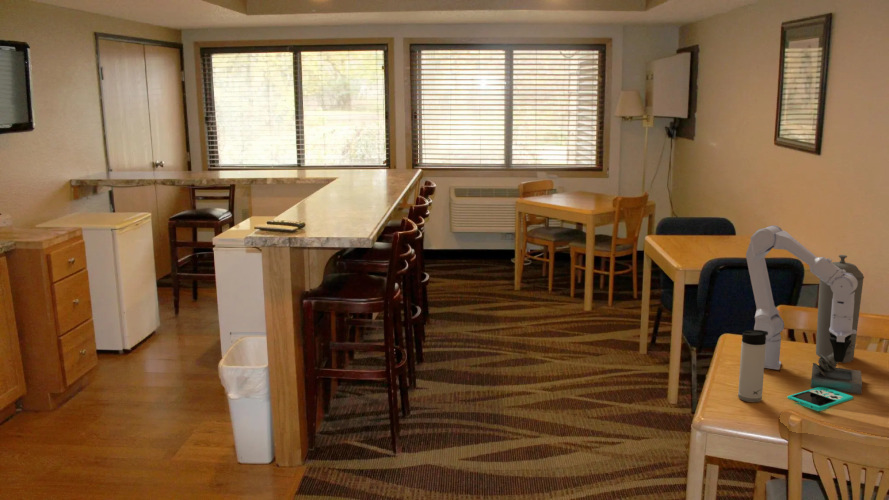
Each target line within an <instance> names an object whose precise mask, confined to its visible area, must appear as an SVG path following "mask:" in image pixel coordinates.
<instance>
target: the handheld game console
mask: <svg viewBox="0 0 889 500" xmlns="http://www.w3.org/2000/svg"><path fill="white" fill-rule="evenodd" d="M787 399H788V400H791V401H793V403H794V404H797V405H799V406H803V407H806V408H808V409H811V410H814V411H817V412H822V411H824V410H827V409H829V408H830V407H832V406H835V405H838V404H841V403H845V402H848V401H851V400H853V399H854V396H853V395H851V394H847V393H846V392H841V391H835V390H832V389H829V388H824V387H816V388H813V387H812V388H810V389H807V390H804V391H801V392H796V393H793V394H790V395H787Z"/></svg>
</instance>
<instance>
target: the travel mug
mask: <svg viewBox="0 0 889 500" xmlns="http://www.w3.org/2000/svg"><path fill="white" fill-rule="evenodd" d="M766 335H768V332H767V331H762V330H754V329H749V330H744V332H742V334H741V346H740V347H741V348H740V362H739V377H738V379H739V380H738V392H737V393H738V394H737V397H738V399H740V400H741V401H744V402H748V403H749V402H750V403H758V402H761V401H763V392H764V391H763V388H764V378H765V377H764V375H765V368H764V362H765V348H766V346H765V345H766Z"/></svg>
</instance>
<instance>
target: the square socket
mask: <svg viewBox="0 0 889 500" xmlns="http://www.w3.org/2000/svg"><path fill="white" fill-rule="evenodd" d="M836 369H837V371H836V370H835V371H833V372H827V371H824V372H825V373H826V377H825V376H824V375H823V374H822V373H821V372H820V371H819V370H818V369H817V368H816V367H815V366H814V365H813V364H812V369H811V377H810V379H811V380H810V388H812V389H813V388H816V387H824V388H829V389H832V390H835V391H839V392H842V393H849V394H855V395H862V389H863V380H862V370H857V369H849V368H848V369H847V368H841V367H836Z"/></svg>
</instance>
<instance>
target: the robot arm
mask: <svg viewBox="0 0 889 500" xmlns="http://www.w3.org/2000/svg"><path fill="white" fill-rule="evenodd" d="M747 247H748V248H747V250H746V252H745V257H746V263H747V268H748V273H749V276H750V277H749V278H750V284H751V286H752V287H751V288H752V292H753V297H754V298H753V299H754V301H755V306H756V307H755V308H756V311H755V315H754V321H755V322H754V327H753V330H762V331H767V332H768V335H766V345H765V346H766V348H765V362H764V369H771V370H777V371H779V370H780V369H781V366H782V361H781V360H780V357H781V343H782V336H781V332H783V330H784V328H785V321H784V320H783V318H782V317H781V316H780V312H779V310H778V308H777V307H776V305H775V301H774V296H773V292H772V287H771V281H770V277H769V272H768V267H767V263H766V256H768V254H769V253H770V252H771V251H772V249H774V250H783V251H784V250H785V251H787V252H788V253H790V254H792V255H793V256H795V257H796V258H798V259H799V260H800V261H802V262H804V263H805V264H807V265H808V266H809V271H810V273H812V274H813V275H814V276H816V277H817V278H818V279H819V280H820V279H821V280H822V281H824V282H825V283H826V284H827V285H830V287H831V290H832V292H833V299H832V309H831V322H830V328H829V331H830V336H831V337H830V339H829V340H830V342H831V344H832V347H833V354H834V361H835V362H838V363H839V362H843V360H844V357H845V353H846V350H847V348H848V346H849V345H850V344H851V340H849V339H850V337H851V334H856V330H852V324H853V312H854V294H855V292H853V291H854V290H855V289H856V288H857V286H858V281H857V279H856V278H855V277H854V276H853V274H851V273H845V272H846V271H845V270H844V269H843V270H841V269H840V268H838V267H837V266H836V265H834V264H833V262H832V261H833V260H832V258H830V257H828V258H826V257H825V256H820V257H819V256H817V255H815V254H814V253H813V252H812V251H810V249H808V248H807V247H805V246H804V245H803V244H802V243H801V242H800V241H798V240H797V239H795V238H794V237H793V236H792V235H791V234H790V233H789V232H788V231H786V230H783V229H782V228H781V227H780V226H778V225H769V226H767V227H764V228H759V229H758V230H756V231H755V232H754V233H753V234H752V235H751V236H750V241H749V244H748V246H747Z"/></svg>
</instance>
